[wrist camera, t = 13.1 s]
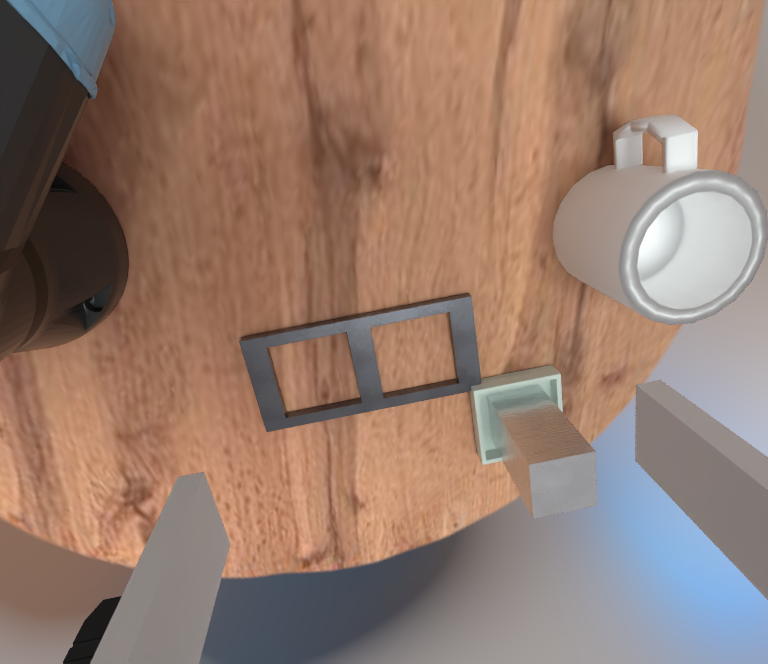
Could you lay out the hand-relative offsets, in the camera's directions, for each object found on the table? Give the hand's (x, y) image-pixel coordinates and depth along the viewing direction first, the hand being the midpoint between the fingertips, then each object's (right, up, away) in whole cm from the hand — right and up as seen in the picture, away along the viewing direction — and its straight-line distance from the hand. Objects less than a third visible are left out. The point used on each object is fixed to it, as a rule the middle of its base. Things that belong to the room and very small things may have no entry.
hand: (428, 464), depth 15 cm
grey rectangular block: (+11, -4, +33) cm, 35 cm away
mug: (+18, +14, +28) cm, 36 cm away
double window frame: (-3, +1, +30) cm, 30 cm away
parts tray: (+11, -3, +33) cm, 35 cm away
